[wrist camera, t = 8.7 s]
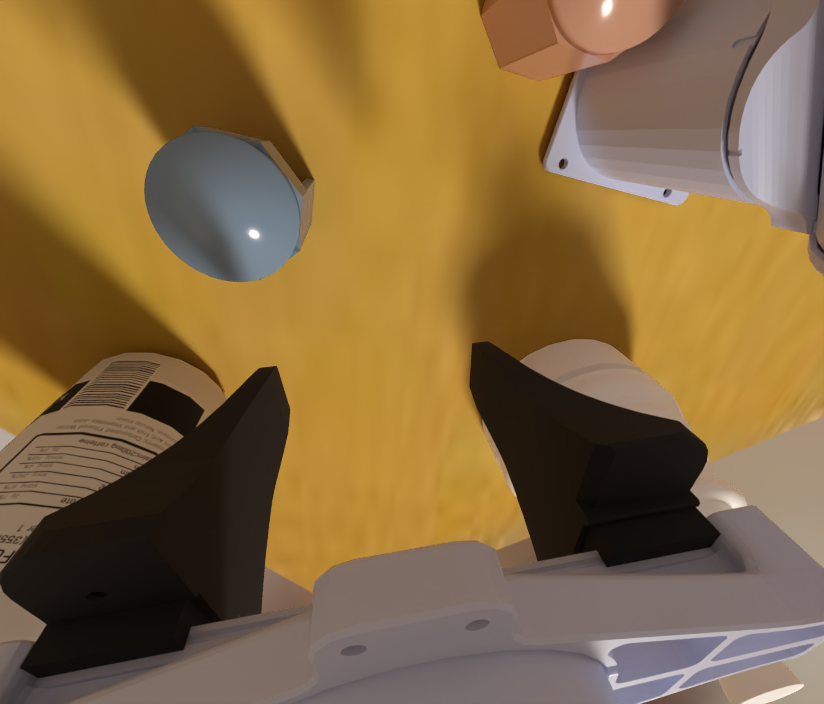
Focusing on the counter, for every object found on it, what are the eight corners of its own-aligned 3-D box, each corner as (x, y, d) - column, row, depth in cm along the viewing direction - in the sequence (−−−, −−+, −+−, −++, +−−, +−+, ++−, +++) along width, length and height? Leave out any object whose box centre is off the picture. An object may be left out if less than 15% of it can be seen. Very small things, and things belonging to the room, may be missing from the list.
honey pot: (449, 419, 28) (567, 754, 13) (581, 305, 24) (970, 595, 9) (538, 476, 34) (690, 751, 19) (655, 392, 30) (965, 653, 15)
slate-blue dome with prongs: (316, 147, 17) (303, 153, 12) (309, 249, 19) (295, 290, 14) (201, 119, 16) (131, 112, 11) (209, 232, 18) (155, 270, 13)
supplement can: (254, 423, 25) (159, 713, 13) (145, 455, 25) (-59, 776, 13) (187, 329, 21) (-65, 634, 8) (55, 368, 21) (-399, 732, 8)
